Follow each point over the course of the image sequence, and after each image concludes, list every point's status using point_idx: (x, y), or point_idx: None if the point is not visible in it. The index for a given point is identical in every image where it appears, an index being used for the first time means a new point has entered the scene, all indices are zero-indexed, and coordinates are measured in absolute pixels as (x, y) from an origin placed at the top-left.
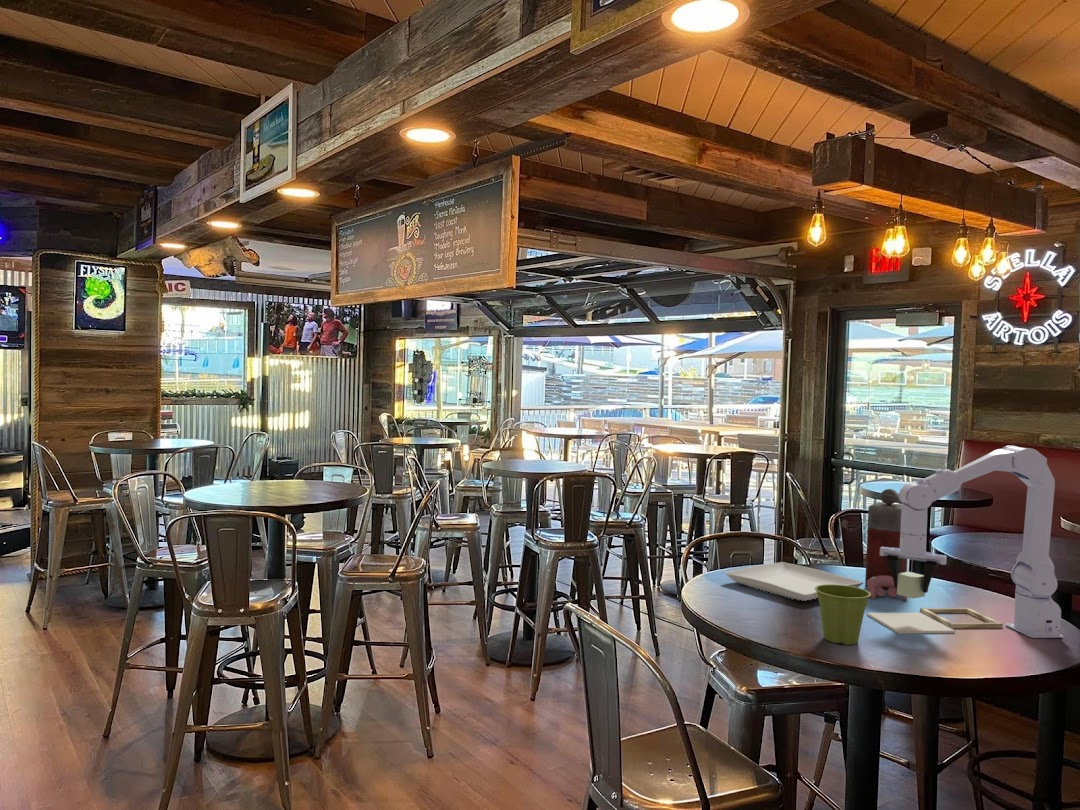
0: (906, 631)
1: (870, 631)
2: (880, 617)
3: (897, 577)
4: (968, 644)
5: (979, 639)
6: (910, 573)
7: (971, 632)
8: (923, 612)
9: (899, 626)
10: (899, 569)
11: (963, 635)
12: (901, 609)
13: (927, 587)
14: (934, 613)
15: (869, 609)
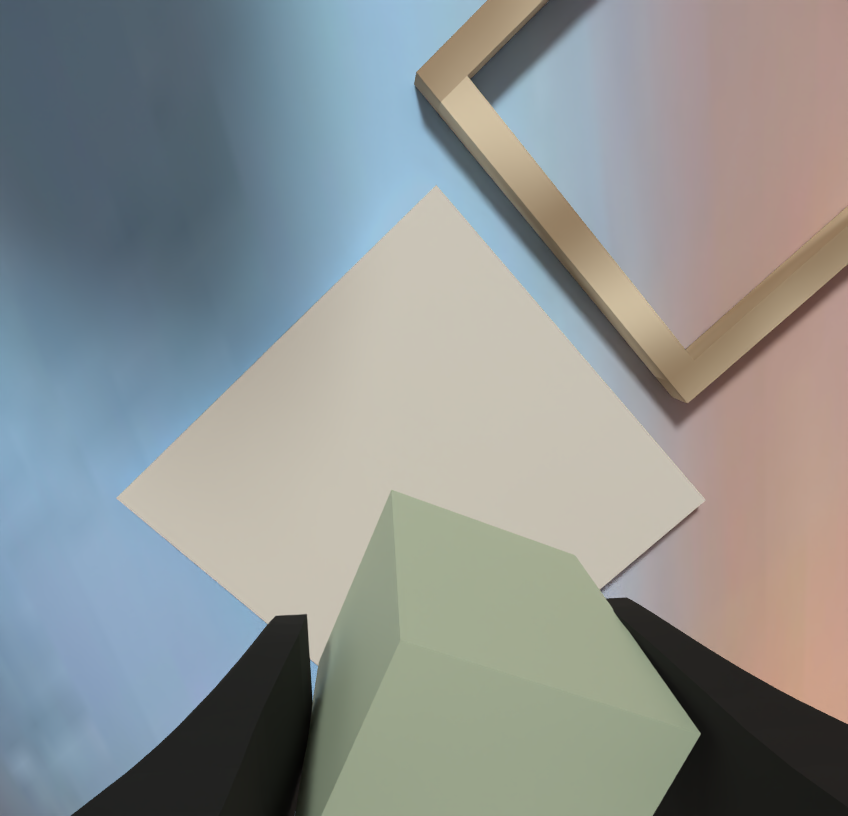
0: None
1: None
2: (234, 544)
3: (284, 813)
4: (770, 653)
5: (827, 518)
6: (454, 757)
7: (787, 400)
8: (449, 121)
9: None
10: (245, 791)
11: (743, 502)
12: (268, 107)
13: None
14: (547, 177)
15: (68, 308)
